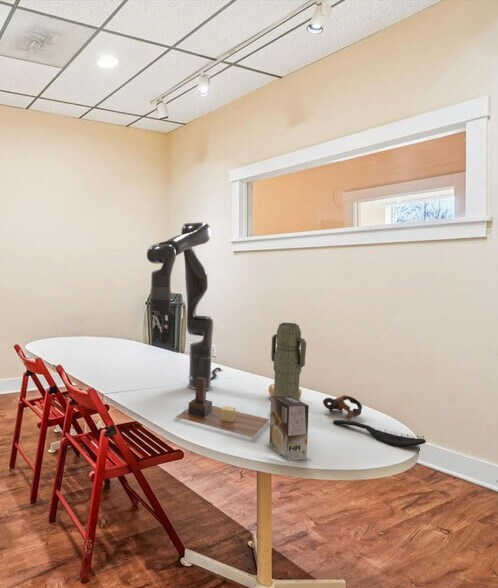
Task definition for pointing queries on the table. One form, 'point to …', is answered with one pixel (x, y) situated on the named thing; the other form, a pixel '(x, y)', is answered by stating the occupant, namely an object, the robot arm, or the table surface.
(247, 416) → the cutting board
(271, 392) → the pastry
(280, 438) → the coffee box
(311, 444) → the table surface
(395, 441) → the hairbrush
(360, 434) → the table surface
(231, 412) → the light tan wooden block
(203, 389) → the wooden post on base
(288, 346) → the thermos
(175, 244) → the robot arm
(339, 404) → the brown looped piece
